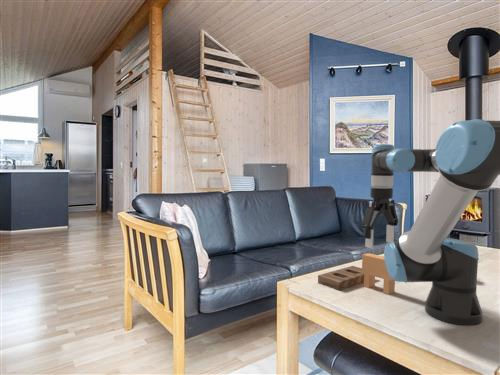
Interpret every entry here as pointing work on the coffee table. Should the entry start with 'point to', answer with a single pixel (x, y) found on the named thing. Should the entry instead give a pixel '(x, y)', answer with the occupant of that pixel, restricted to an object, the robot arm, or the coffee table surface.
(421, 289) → the coffee table surface
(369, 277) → the clip
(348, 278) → the slotted wooden base
